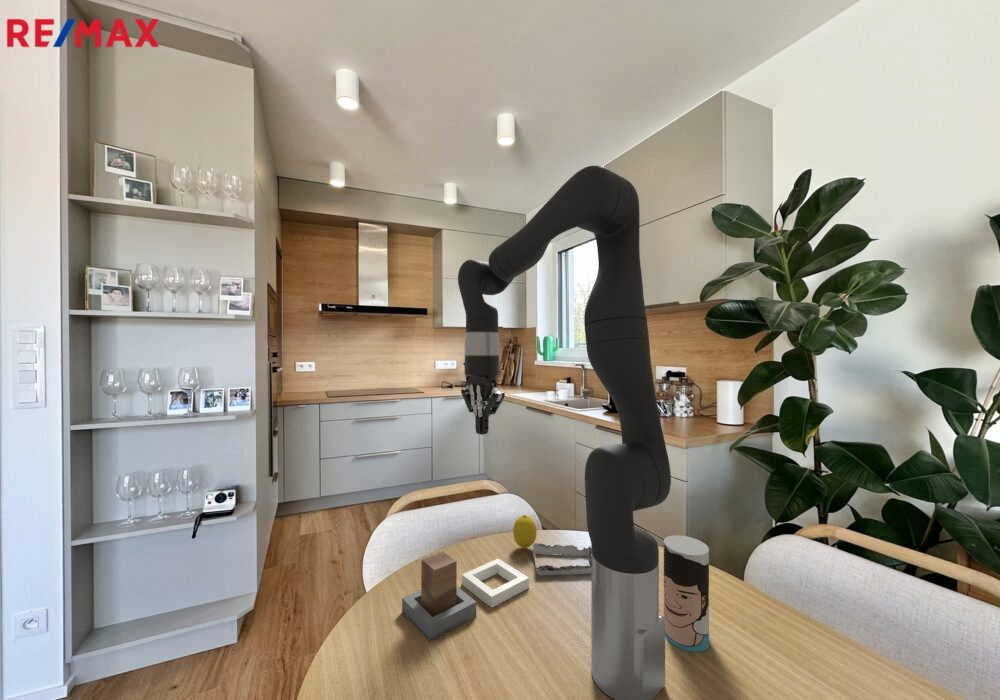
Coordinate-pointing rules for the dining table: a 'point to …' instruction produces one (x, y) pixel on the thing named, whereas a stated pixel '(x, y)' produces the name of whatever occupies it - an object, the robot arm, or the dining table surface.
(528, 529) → the lemon
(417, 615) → the gray pocket tray
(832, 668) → the dining table surface
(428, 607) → the walnut block
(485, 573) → the white pocket frame
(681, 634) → the cup
